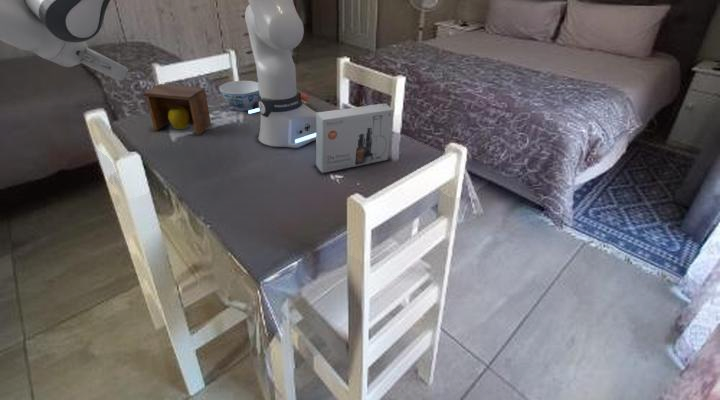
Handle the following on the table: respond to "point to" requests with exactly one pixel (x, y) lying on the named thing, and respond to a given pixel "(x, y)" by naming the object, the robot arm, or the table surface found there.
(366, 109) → the skincare box
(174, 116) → the yellow lemon
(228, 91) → the chinaware
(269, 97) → the robot arm
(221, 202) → the table surface
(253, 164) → the table surface
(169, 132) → the table surface
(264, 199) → the table surface
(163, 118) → the cabinet
